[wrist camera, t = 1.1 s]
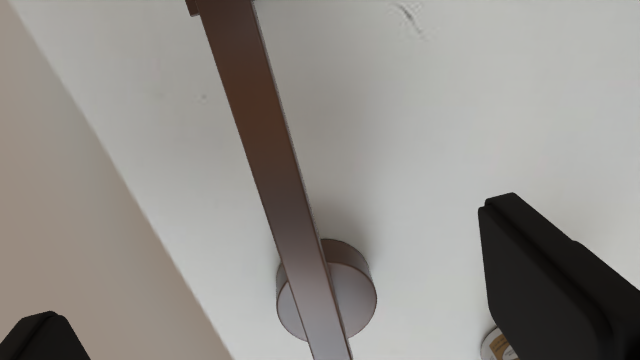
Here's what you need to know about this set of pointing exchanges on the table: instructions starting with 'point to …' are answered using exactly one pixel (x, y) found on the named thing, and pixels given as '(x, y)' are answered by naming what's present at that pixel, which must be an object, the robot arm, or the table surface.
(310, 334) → the ladle
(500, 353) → the pill bottle
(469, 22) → the table surface
